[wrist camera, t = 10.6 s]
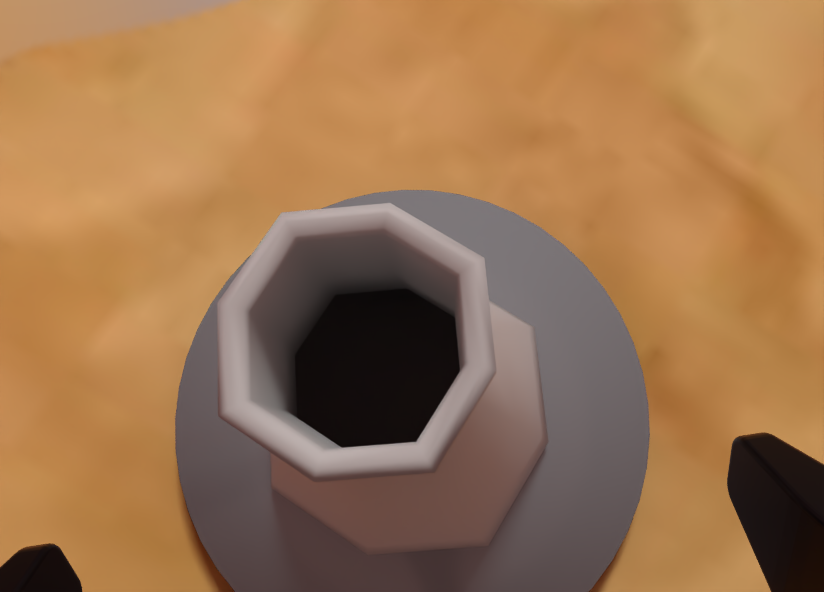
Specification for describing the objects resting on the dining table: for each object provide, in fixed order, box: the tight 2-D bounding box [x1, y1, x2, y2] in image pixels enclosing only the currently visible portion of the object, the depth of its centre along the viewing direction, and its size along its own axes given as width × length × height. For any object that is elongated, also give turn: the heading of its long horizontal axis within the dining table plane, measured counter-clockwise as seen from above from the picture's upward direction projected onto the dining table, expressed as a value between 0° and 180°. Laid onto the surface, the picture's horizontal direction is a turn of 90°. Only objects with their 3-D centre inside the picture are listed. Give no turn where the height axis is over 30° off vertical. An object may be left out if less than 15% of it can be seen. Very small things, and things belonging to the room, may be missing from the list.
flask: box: [217, 203, 549, 555], centre depth 12 cm, size 7×7×10 cm
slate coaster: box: [175, 190, 650, 592], centre depth 17 cm, size 12×12×1 cm
